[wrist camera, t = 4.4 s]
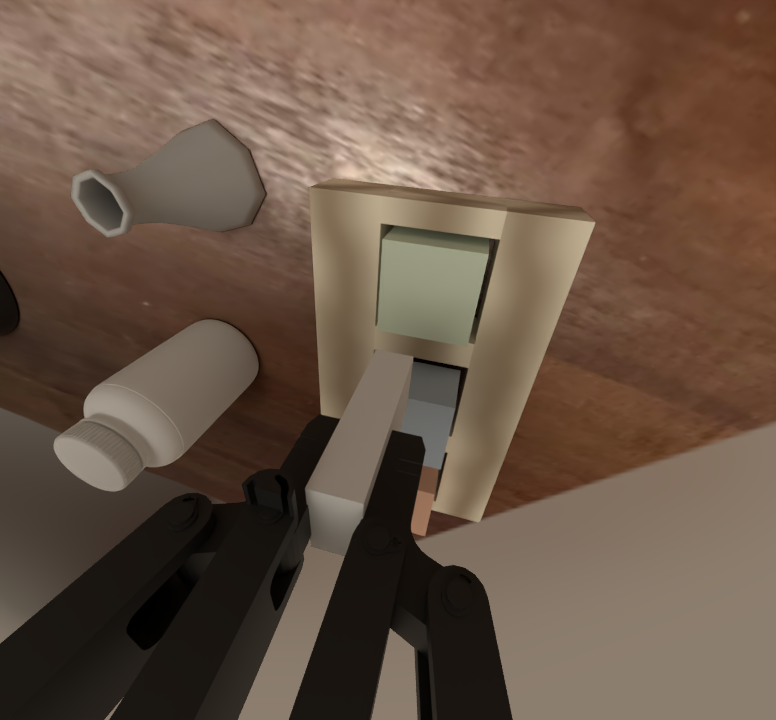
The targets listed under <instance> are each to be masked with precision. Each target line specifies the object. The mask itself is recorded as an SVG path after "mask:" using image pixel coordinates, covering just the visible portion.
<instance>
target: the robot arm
mask: <svg viewBox="0 0 776 720" xmlns="http://www.w3.org/2000/svg"><path fill="white" fill-rule="evenodd" d="M17 322H18V310H17V306H16V303H15V300H14V297H13V295H12V293H11V291H10V289H9V287H8V285H7V284H6V282H5V280H4V279H3V277H2V276H1V274H0V336H2V335H4V334H6V333H9V332H11V331H12V330H14V328H15V327H16V325H17ZM412 365H413V356H408V355H403V354H398V353H393V352H387V351H382V350H377V349H376V351H375V353H374V355H373V357H372V359H371V361H370V363H369V365H368V367H367V368H366V370H365V372H364V374H363V376H362V378H361V380H360V382H359V384H358V386H357V388H356V390H355V392H354V394H353V396H352V398H351V400H350V402H349V404H348V406H347V407H346V409H345V411H344V413H343V415H342V417H341V419H339V418H334V417H330V416H325V415H321V414H320V415H318V416H317V417H316V418H314V419H313V420H312V421H310V422H309V423H308V424H307V425H306V427H305V429H304V430H303V432H302V434H301V435H300V438H298V440H297V442H296V443H295V445H294V448H292V450H291V451H290V453H289V455H288V456H287V458H286V460H285V461H284V463H283V465H282V466H281V468H280V469H266V470H262V471H258V472H257V473H255V474H253V475H251V476H249V477H248V478H247V480H246V481H245V482H244V483H243V484H242V487H243V491H244V495H245V498H246V501H245V502H239V503H226V504H212V503H211V501H210V500H209V499H208V498H207V497H206V496H205V495H202V494H199V493H187V494H184V495H181V496H178V497H176V498H174V499H172V500H171V501H170V502H168V503H166V504H165V505H164V506H163V507H161V508H160V509H159V510H158V511H157V512H155V513H154V514H153V515H152V516H151V517H150V518H148V519H147V520H146V521H145V522H144V523H142V524H141V525H140V526H139V527H138V528H137V529H135V530H134V531H133V532H132V533H131V534H129V535H128V536H127V537H126V538H125V539H124V540H122V541H121V542H120V543H119V544H118V545H116V546H115V547H114V548H113V549H112V550H111V551H109V552H108V553H107V554H106V555H105V556H103V557H102V558H101V559H100V560H99V561H98V562H96V563H95V564H94V565H93V566H92V567H90V568H89V569H88V570H87V571H86V572H84V573H83V574H82V575H81V576H80V577H79V578H78V579H76V580H75V581H74V582H73V583H71V584H70V585H69V586H68V587H67V588H66V589H64V590H63V591H62V592H61V593H60V594H59V595H57V596H56V597H55V598H54V599H53V600H51V601H50V602H49V603H48V604H47V605H46V606H44V607H43V608H42V609H41V610H40V611H39V612H38V613H36V614H35V615H34V616H32V617H31V618H30V619H29V620H28V621H27V622H25V623H24V624H23V625H22V626H21V627H20V628H18V629H17V630H16V631H15V632H14V633H12V634H11V635H10V636H9V637H8V638H6V639H5V640H4V641H3V642H2V643H1V644H0V720H104V719H105V718H106V717H107V716H108V715H109V713H110V712H111V711H112V710H113V709H114V707H115V706H116V705H117V704H118V703H119V702H120V700H121V699H122V698H123V697H124V698H123V699H122V701H121V703H120V704H119V705H118V707H117V709H116V710H115V712H114V713H113V715H112V716H111V718H110V720H238V718H239V715H240V713H241V710H242V708H243V706H244V703H245V701H246V699H247V696H248V694H249V692H250V689H251V687H252V685H253V682H254V680H255V677H256V675H257V673H258V671H259V668H260V666H261V663H262V661H263V659H264V656H265V654H266V652H267V649H268V647H269V645H270V642H271V640H272V637H273V635H274V633H275V631H276V628H277V626H278V623H279V621H280V619H281V616H282V614H283V612H284V609H285V607H286V605H287V602H288V600H289V598H290V595H291V593H292V590H293V588H294V586H295V583H296V581H297V579H298V576H299V574H300V572H301V569H302V566H303V562H304V555H303V553H304V550H305V548H306V546H307V544H308V541H309V539H310V540H311V546H312V547H315V548H319V549H322V550H326V551H329V552H332V553H336V554H339V555H342V556H345V558H344V561H343V564H342V566H341V569H340V572H339V576H338V578H337V581H336V584H335V587H334V590H333V593H332V596H331V599H330V601H329V604H328V607H327V610H326V613H325V616H324V619H323V622H322V625H321V628H320V631H319V633H318V636H317V639H316V642H315V645H314V648H313V651H312V654H311V657H310V660H309V663H308V665H307V668H306V671H305V674H304V677H303V680H302V683H301V686H300V689H299V692H298V695H297V697H296V700H295V703H294V706H293V709H292V712H291V715H290V718H289V720H371V717H372V713H373V708H374V703H375V698H376V693H377V688H378V683H379V678H380V674H381V669H382V664H383V659H384V654H385V649H386V644H387V640H388V635H389V630H390V628H391V629H392V630H393V631H395V632H396V633H397V634H398V635H400V636H401V637H402V638H403V639H404V640H406V641H407V642H408V643H409V644H410V645H412V646H413V647H414V648H415V669H416V670H415V671H416V692H417V714H418V720H513V719H512V714H511V710H510V704H509V699H508V695H507V690H506V685H505V680H504V675H503V670H502V665H501V660H500V656H499V650H498V645H497V640H496V635H495V630H494V625H493V620H492V615H491V611H490V605H489V600H488V597H487V594H486V591H485V589H484V586H483V584H482V583H481V582H480V581H479V579H478V578H477V577H476V575H475V574H473V573H472V572H470V571H469V570H467V569H466V568H463V567H459V566H455V565H452V566H445V567H443V566H442V565H440V564H439V563H437V562H436V561H434V560H433V559H431V558H430V557H428V556H427V555H426V554H425V553H424V552H422V551H421V550H420V548H419V547H418V546H417V544H416V543H415V540H414V538H413V536H412V531H411V522H412V517H413V512H414V507H415V502H416V497H417V493H418V488H419V483H420V478H421V473H422V467H423V462H424V457H425V452H426V449H425V446H424V442H423V439H422V437H421V436H417V435H412V434H408V433H403V432H400V429H401V426H402V423H403V419H404V416H405V413H406V409H407V403H408V395H409V388H410V380H411V372H412Z"/></svg>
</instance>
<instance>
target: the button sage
mask: <svg viewBox="0 0 776 720" xmlns="http://www.w3.org/2000/svg"><path fill="white" fill-rule="evenodd" d="M489 242H490V238H485V237H477V236H470V235H463V234H455V233H448V232H441V231H433V230H426V229H419V228H411V227H404V226H397V225H396V226H395V227H394V228H393V229H392V230H391V231H390V232H389V233H388V234H387V235H386V236H385V237H384V238H383V239H382V255H381V272H380V289H379V306H378V323H377V330H379V331H384V332H390V333H395V334H401V335H406V336H411V337H417V338H422V339H427V340H433V341H438V342H443V343H449V344H454V345H459V346H465V347H467V346H468V342H469V338H470V333H471V329H472V325H473V320H474V316H475V312H476V308H477V303H478V299H479V295H480V290H481V286H482V282H483V278H484V273H485V269H486V265H487V260H488V256H489Z"/></svg>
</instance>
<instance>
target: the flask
mask: <svg viewBox="0 0 776 720" xmlns="http://www.w3.org/2000/svg"><path fill="white" fill-rule="evenodd" d="M264 196H265V191H264V189H263V186H262V184H261V181H260V179H259V176H258V173H257V171H256V168H255V166H254V163H253V161H252V158H251V155H250V153H249V150H248V149H247V148H246V147H245V146H243V145H242V144H241V143H240V142H239V141H238V140H237V139H235V138H234V137H233V136H232V135H231V134H230V133H229V132H228V131H226V130H225V129H224V128H223V127H222V126H221V125H220V124H218V123H217V122H216V121H215V120H214V119H211V120H208V121H206V122H203V123H201V124H198V125H196V126H193V127H191V128H188V129H186V130H183V131H181V132H180V133H178V134H177V135H176V136H174V137H173V138H172V139H171V140H170V141H169V142H167V143H166V144H165V145H164V146H163V147H162V148H160V149H159V150H158V151H157V152H155V153H154V154H153V155H151V156H150V157H149V158H147V159H146V160H144V161H143V162H142V163H140V164H139V165H138V166H136V167H135V168H132V169H130V170H127V171H125V172H119V173H112V174H104V173H103V172H101V171H100V170H98V169H91V170H88V171H85V172H83V173H80V174H78V175H75V176H73V182H72V191H71V198H72V200H73V201H74V203H75V204H76V206H77V207H78V209H79V211H80V212H81V214H82V215H83V217H84V218H85V220H86V221H87V222H88V223H89V224H90V225H92V226H93V227H94V228H96V229H97V230H98V231H100V232H101V233H102V234H103V235H105V236H106V237H107V238H110V237H114V236H117V235H121V234H124V233H128V232H129V231H130V230H131V227H132V225H135V224H144V223H161V222H162V223H169V224H176V225H183V226H190V227H196V228H201V229H206V230H211V231H217V232H224V231H228V230H232V229H236V228H240V227H244V226H248V225H251V223H252V221H253V219H254V217H255V215H256V213H257V211H258V209H259V207H260V205H261V202H262V200H263V198H264Z"/></svg>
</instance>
